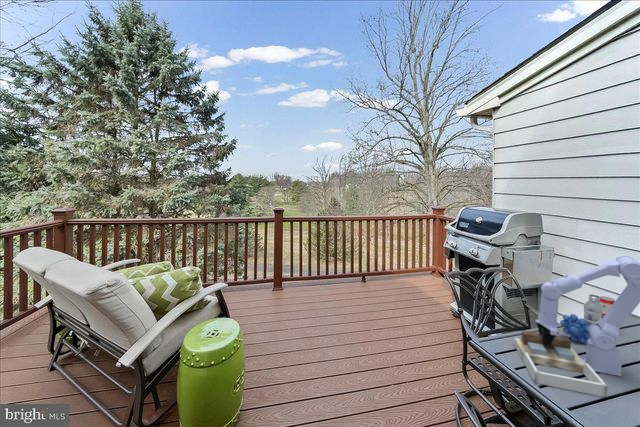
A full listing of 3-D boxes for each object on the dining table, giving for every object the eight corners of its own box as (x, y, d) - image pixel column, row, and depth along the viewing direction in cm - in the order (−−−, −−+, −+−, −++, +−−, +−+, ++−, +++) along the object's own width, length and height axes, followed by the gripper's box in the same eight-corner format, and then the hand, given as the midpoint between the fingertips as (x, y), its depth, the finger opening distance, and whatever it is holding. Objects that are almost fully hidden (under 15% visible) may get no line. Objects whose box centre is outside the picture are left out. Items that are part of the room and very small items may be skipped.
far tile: (541, 348, 120) (542, 344, 119) (546, 355, 115) (546, 351, 115) (527, 346, 121) (527, 341, 121) (531, 353, 117) (531, 348, 116)
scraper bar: (566, 348, 120) (568, 337, 120) (570, 352, 118) (571, 341, 117) (521, 340, 126) (522, 330, 125) (523, 344, 123) (524, 334, 122)
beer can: (616, 334, 137) (620, 301, 135) (600, 333, 138) (604, 300, 136) (606, 327, 143) (610, 296, 141) (591, 326, 144) (595, 295, 142)
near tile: (568, 353, 117) (569, 348, 116) (574, 360, 112) (575, 355, 112) (553, 350, 118) (553, 346, 118) (558, 358, 114) (559, 353, 113)
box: (586, 373, 109) (587, 363, 109) (606, 397, 97) (607, 386, 97) (523, 361, 116) (524, 352, 116) (534, 382, 104) (535, 372, 104)
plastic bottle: (575, 334, 137) (580, 293, 134) (589, 334, 137) (594, 293, 135) (589, 342, 130) (594, 299, 128) (603, 341, 131) (609, 298, 128)
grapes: (555, 338, 134) (558, 313, 132) (560, 333, 138) (563, 309, 136) (589, 350, 124) (592, 323, 123) (593, 345, 128) (596, 319, 127)
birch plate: (570, 353, 122) (570, 346, 121) (586, 373, 109) (587, 365, 109) (514, 344, 128) (514, 337, 128) (523, 361, 116) (524, 354, 116)
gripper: (531, 303, 128) (528, 332, 130) (543, 318, 114) (540, 350, 116) (550, 305, 126) (547, 335, 127) (565, 321, 112) (561, 354, 114)
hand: (545, 343), depth 122 cm, fingers closed on scraper bar, 3 cm apart
